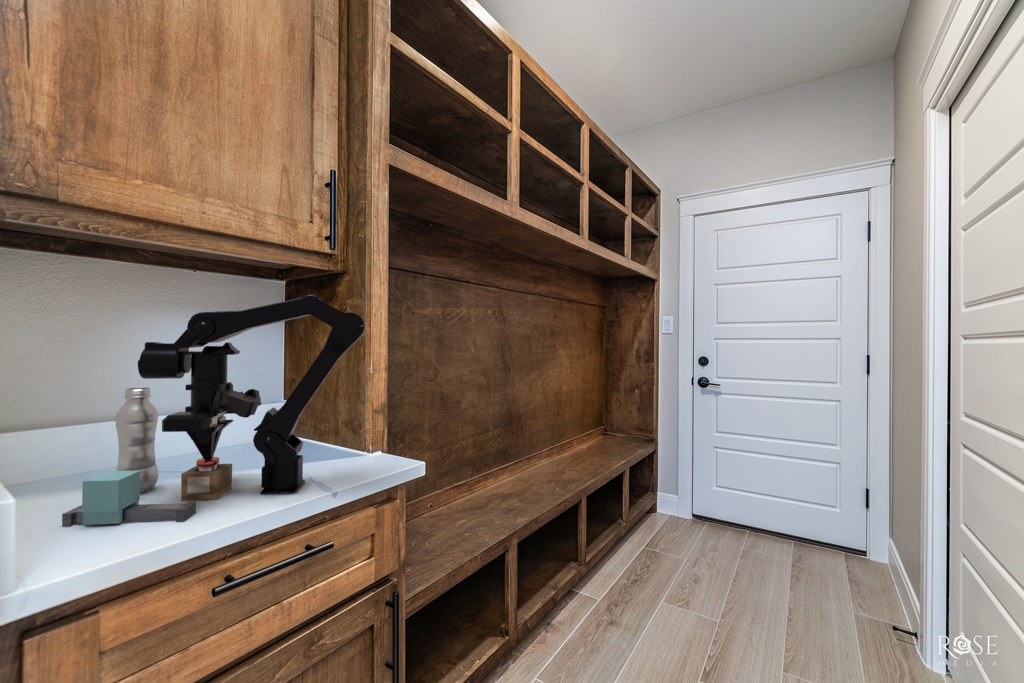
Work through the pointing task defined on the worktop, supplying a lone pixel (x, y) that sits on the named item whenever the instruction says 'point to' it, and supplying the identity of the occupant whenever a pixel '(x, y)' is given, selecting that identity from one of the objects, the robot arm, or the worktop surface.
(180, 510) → the rail
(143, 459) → the plastic bottle
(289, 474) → the robot arm
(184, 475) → the brown button housing
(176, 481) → the worktop surface
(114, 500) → the carriage
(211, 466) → the button
